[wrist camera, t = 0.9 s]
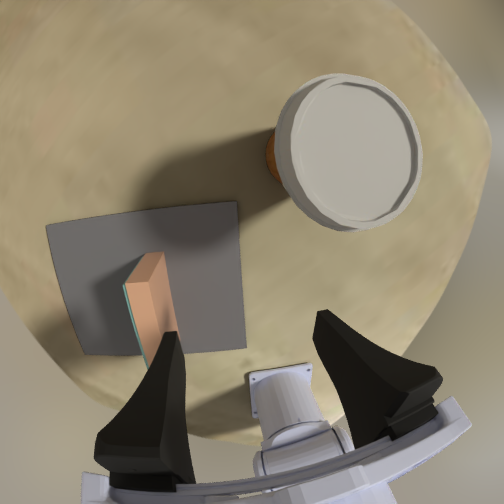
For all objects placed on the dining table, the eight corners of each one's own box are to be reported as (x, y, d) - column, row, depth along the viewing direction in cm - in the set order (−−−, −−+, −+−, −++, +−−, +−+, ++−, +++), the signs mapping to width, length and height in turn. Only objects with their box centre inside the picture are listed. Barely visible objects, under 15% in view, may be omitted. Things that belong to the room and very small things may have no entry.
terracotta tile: (180, 339, 28) (175, 384, 21) (161, 340, 27) (152, 385, 21) (163, 251, 24) (148, 281, 18) (142, 253, 24) (121, 283, 18)
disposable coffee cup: (272, 221, 26) (320, 266, 14) (230, 128, 22) (248, 92, 11) (356, 183, 26) (440, 201, 14) (321, 95, 22) (395, 58, 11)
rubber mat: (246, 346, 29) (246, 348, 29) (86, 352, 27) (84, 354, 27) (236, 201, 24) (236, 201, 24) (47, 224, 22) (45, 225, 22)
